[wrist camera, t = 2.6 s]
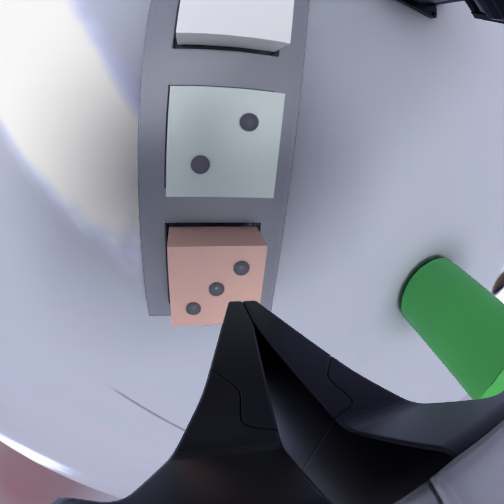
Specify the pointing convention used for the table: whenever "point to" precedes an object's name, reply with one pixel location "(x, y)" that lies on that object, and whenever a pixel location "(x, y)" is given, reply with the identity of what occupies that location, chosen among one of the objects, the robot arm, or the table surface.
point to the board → (155, 141)
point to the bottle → (458, 325)
